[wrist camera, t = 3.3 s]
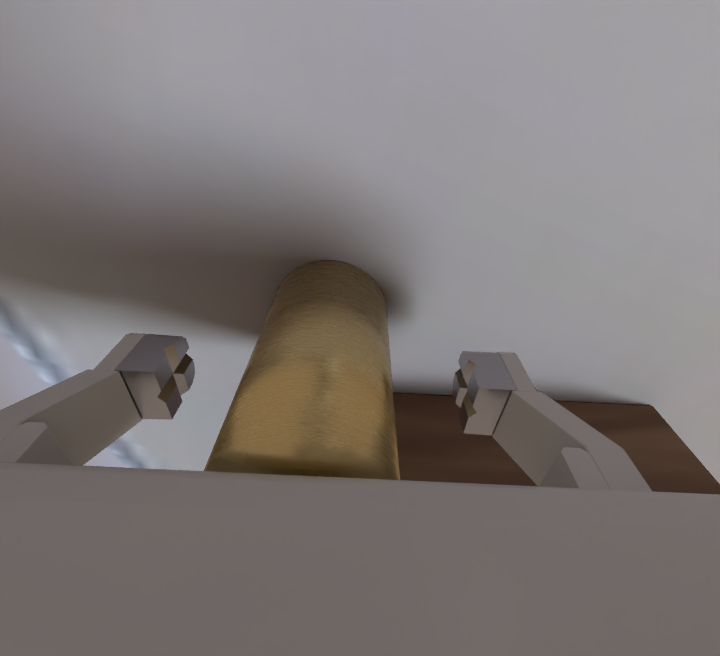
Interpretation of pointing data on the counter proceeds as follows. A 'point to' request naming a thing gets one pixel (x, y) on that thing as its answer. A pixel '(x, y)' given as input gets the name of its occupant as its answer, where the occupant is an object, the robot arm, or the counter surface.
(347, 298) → the tan cylinder
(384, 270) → the counter surface
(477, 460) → the jig
